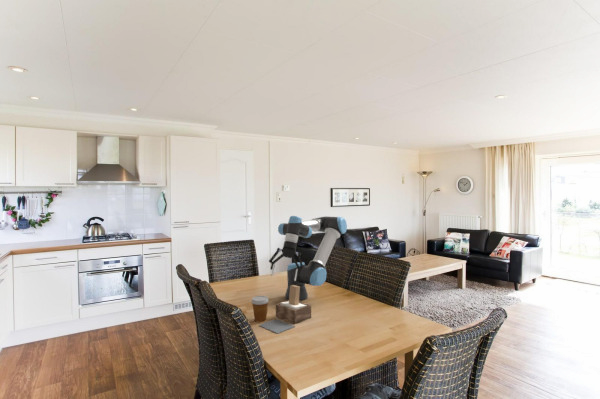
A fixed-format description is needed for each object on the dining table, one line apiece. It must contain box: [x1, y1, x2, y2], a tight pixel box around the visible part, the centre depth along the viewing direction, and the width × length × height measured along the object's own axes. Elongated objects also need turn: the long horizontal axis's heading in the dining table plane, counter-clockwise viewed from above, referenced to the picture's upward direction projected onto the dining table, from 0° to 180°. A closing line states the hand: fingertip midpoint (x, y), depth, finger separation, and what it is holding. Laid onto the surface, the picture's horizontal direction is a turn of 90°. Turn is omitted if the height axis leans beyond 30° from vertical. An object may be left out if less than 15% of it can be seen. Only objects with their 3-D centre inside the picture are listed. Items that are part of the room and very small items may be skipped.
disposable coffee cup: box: [251, 295, 270, 323], centre depth 183 cm, size 10×10×12 cm
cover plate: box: [280, 285, 307, 310], centre depth 187 cm, size 12×9×11 cm
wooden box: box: [275, 300, 312, 325], centre depth 186 cm, size 16×13×7 cm
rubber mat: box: [258, 318, 296, 335], centre depth 173 cm, size 15×12×1 cm
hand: (283, 278), depth 189 cm, fingers open, 13 cm apart
